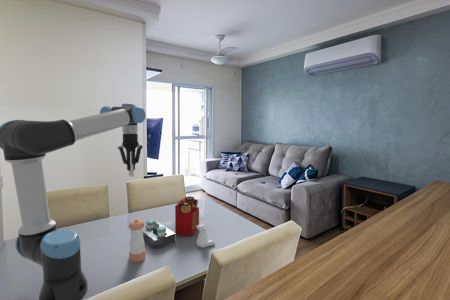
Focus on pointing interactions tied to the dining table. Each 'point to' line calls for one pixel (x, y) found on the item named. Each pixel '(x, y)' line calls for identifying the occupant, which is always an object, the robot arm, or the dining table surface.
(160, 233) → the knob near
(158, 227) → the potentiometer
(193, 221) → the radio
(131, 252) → the salt shaker
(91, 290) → the dining table surface
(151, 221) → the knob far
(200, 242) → the sitting furry creature
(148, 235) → the mount
